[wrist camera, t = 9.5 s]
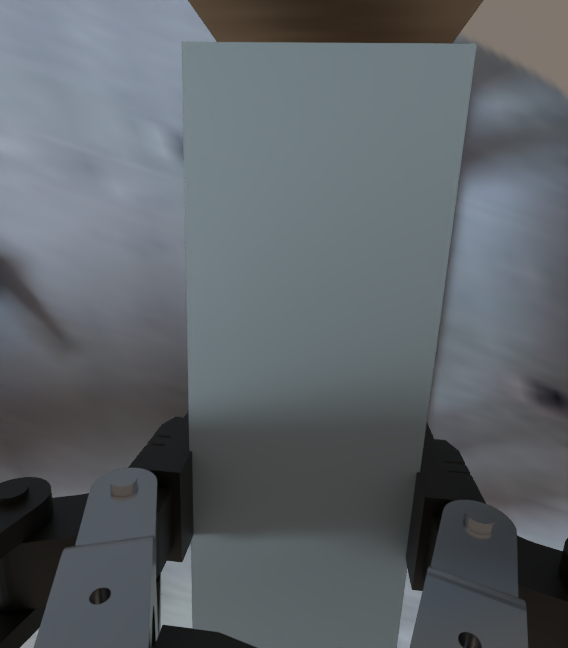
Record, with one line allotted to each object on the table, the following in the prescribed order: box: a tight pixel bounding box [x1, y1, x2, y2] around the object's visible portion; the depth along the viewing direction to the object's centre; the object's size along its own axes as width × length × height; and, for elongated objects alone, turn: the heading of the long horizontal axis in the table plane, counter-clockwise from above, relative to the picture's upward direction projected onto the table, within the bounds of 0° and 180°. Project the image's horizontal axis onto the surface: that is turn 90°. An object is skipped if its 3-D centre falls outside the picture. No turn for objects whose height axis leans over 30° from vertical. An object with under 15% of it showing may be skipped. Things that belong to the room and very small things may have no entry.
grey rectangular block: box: [182, 42, 477, 648], centre depth 12 cm, size 18×5×4 cm, turn 178°
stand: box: [188, 0, 483, 44], centre depth 16 cm, size 9×24×16 cm, turn 178°
